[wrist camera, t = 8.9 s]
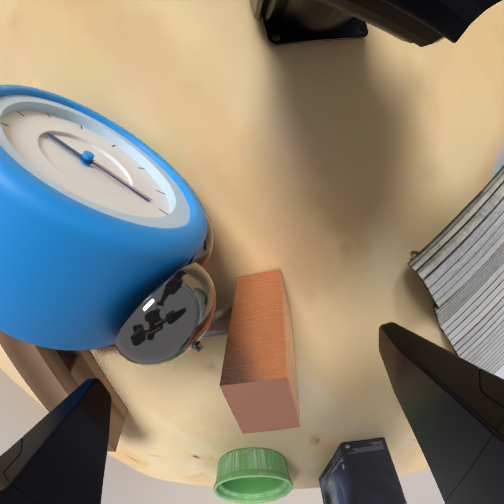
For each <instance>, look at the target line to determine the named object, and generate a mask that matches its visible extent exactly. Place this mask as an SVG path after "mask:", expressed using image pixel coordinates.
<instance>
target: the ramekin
mask: <svg viewBox="0 0 504 504" xmlns="http://www.w3.org/2000/svg"><path fill="white" fill-rule="evenodd" d="M292 488H293V484H292V481H291V479H290V478H289V475H288V471H287V467H286V463H285V460H284V458H283V456H282V455H281V454H280V453H278V452H276V451H273V450H269V449H265V448H244V449H238V450H234V451H231V452H229V453H227V454H225V455H224V456H223V457H221V459H220V460H219V463H218V470H217V478H216V482H215V485H214V493H215V494H216V495H217V496H219V497H220V498H222V499H224V500H227V501H231V502H236V503H244V504H247V503H248V504H253V503H254V504H255V503H264V502H269V501H273V500H276V499H279V498H282V497H284V496H285V495H287V494H288V493H290V492H291V490H292Z"/></svg>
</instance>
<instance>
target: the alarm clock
mask: <svg viewBox="0 0 504 504" xmlns="http://www.w3.org/2000/svg"><path fill="white" fill-rule="evenodd" d="M213 241H214V233H213V228H212V224H211V221H210V219H209V217H208V216H207V214H206V213H205V212H204V210H203V207H202V205H201V203H200V201H199V199H198V198H197V196H196V194H195V193H194V191H193V190H192V189H191V187H190V186H189V185H188V184H187V182H186V181H185V180H184V179H183V178H182V177H181V176H180V175H179V174H178V173H177V171H176V170H175V169H174V168H173V167H171V166H170V165H169V164H168V163H167V162H166V161H165V160H164V159H163V158H162V157H161V156H159V155H158V154H157V153H156V152H155V151H153V150H152V149H151V148H150V147H148V146H147V145H146V144H145V143H143V142H142V141H141V140H139V139H138V138H136V137H135V136H134V135H132V134H131V133H129V132H128V131H126V130H125V129H123V128H122V127H120V126H119V125H117V124H115V123H114V122H112V121H111V120H109V119H107V118H106V117H104V116H102V115H100V114H98V113H97V112H95V111H93V110H91V109H89V108H87V107H85V106H83V105H81V104H78V103H76V102H74V101H72V100H69V99H67V98H64V97H62V96H59V95H56V94H54V93H51V92H47V91H44V90H40V89H37V88H32V87H27V86H20V85H0V331H2V332H4V333H6V334H7V335H10V336H12V337H14V338H16V339H19V340H21V341H24V342H27V343H30V344H33V345H37V346H41V347H46V348H51V349H58V350H90V349H97V348H101V347H106V346H109V345H111V344H114V348H115V349H116V350H117V352H118V353H119V354H120V355H122V356H123V357H124V358H125V359H126V360H128V361H130V362H132V363H134V364H138V365H142V366H160V365H165V364H168V363H171V362H173V361H175V360H178V359H179V358H180V357H182V356H183V355H184V354H186V353H187V352H188V351H189V350H190V349H191V348H193V349H195V350H196V351H197V352H199V351H200V350H201V349H202V348H203V346H202V345H201V344H200V342H199V340H200V339H201V338H202V336H203V335H204V334H205V332H206V331H207V330H208V328H209V327H210V325H211V322H212V319H213V317H214V313H215V308H216V292H215V287H214V284H213V282H212V279H211V277H210V275H209V274H208V273H207V272H206V270H205V269H204V266H205V265H206V264H207V262H208V260H209V258H210V255H211V252H212V248H213Z"/></svg>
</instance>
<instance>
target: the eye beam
mask: <svg viewBox="0 0 504 504" xmlns="http://www.w3.org/2000/svg"><path fill="white" fill-rule="evenodd" d="M0 344H1V346H2V347H3V349H4V351H5V352H6V354H7V355H8V357H9V358H10V360H11V361H12V363H13V364H14V366H15V367H16V369H17V370H18V372H19V373H20V375H21V376H22V378H23V379H24V380H25V382H26V383H27V384H28V386H29V387H30V388H31V390H32V391H33V392H34V394H35V395H36V396H37V398H38V399H39V400H40V402H41V403H42V404H43V405H44V407H45V408H46V409H47V410H48V411H49V413H50V412H51V411H52V410H53V409H54V408H55V407H56V406H57V405H58V404H60V403H61V402H62V401H63V400H64V399H65V398H66V397H67V396H69V395H70V394H71V393H72V392H73V391H74V390H75V389H76V388H77V387H79V386H80V385H81V384H82V383H83V382H84V381H85V380H87V379H88V378H99V379H100V380H101V381H102V383H103V384H104V386H105V387H106V389H107V390H108V391H109V393H110V395H111V398H112V404H111V417H110V433H109V442H108V449H107V451H114V452H116V448H117V444H118V441H119V437H120V434H121V430H122V427H123V423H124V420H125V416H126V413H127V408H126V406H125V405H124V404H123V402H122V401H121V399H120V398H119V396H118V395H117V393H116V392H115V390H114V389H113V387H112V386H111V384H110V383H109V381H108V380H107V378H106V377H105V375H104V374H103V372H102V370H101V369H100V367H99V366H98V364H97V362H96V361H95V359H94V357H93V356H92V354H91V352H90V351H89V350H58V349H51V348H46V347H41V346H37V345H33V344H30V343H27V342H24V341H21V340H19V339H16V338H14V337H12V336H10V335H7V334H6V333H4V332H2V331H0Z"/></svg>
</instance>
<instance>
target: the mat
mask: <svg viewBox="0 0 504 504" xmlns="http://www.w3.org/2000/svg"><path fill="white" fill-rule="evenodd" d="M412 253H413V254H416V256H415V257H414V258H413V259H412V260H411V261H410V262H408V263H407V264H408V266H409V267H410V268H412V269H413V270H414V271H415V272H416V273H417V274H418V276H419V277H420V279H421V280H422V282H423V283H424V285H425V287H426V288H427V290H428V291H429V293H430V295H431V296H432V298H433V300H434V301H435V303H436V304H435V305H434V311H435V315H436V318H437V320H438V323H439V325H440V328H441V330H442V332H443V333H444V334H446V336H447V337H448V339H449V341H450V344H451V345H452V347H453V349H454V351H455V353H456V355H457V356H459V357H461V358H463V359H465V360H467V361H468V362H470V363H472V364H474V365H476V366H478V367H479V368H482V369H484V370H486V371H488V372H490V373H492V374H494V373H495V372H496V371H497V370H498V369H499V368H500V367H501V366H502V365H504V166H503V167H502V168H501V169H500V170H499V172H498V173H497V174H496V175H495V176H494V177H493V179H492V180H491V181H490V182H489V183H488V184H487V185H486V187H485V188H484V189H483V190H482V191H481V192H480V193H479V194H478V195H477V196H476V197H475V198H474V199H473V200H472V201H471V202H470V203H469V204H468V205H467V206H466V207H465V208H464V209H463V210H462V211H461V212H460V213H459V214H458V215H457V216H456V218H455V219H454V220H453V221H452V222H451V223H450V224H449V225H448V226H447V227H446V228H445V229H444V230H443V231H442V232H441V233H440V234H439V235H438V236H437V237H436V238H434V239H433V240H432V241H431V242H430V243H429V244H428V245H427V246H426V247H425V248H424V249H422V250H421V251H420V252H416V251H412Z"/></svg>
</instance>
